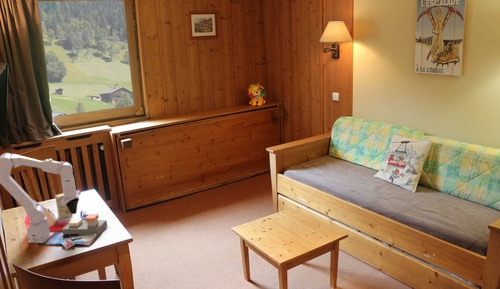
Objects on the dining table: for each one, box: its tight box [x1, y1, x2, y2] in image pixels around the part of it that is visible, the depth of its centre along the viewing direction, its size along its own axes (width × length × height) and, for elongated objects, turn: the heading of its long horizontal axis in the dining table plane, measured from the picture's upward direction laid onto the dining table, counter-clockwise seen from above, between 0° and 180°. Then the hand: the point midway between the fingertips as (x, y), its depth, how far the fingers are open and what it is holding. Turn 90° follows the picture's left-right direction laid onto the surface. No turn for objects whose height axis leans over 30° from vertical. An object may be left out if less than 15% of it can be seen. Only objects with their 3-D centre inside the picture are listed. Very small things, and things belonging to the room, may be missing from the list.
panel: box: [61, 219, 108, 236], centre depth 210 cm, size 10×18×3 cm, turn 82°
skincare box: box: [54, 193, 73, 219], centre depth 227 cm, size 6×4×12 cm
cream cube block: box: [68, 218, 83, 227], centre depth 211 cm, size 5×5×5 cm
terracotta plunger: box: [84, 213, 100, 227], centre depth 209 cm, size 5×5×5 cm
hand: (73, 213), depth 209 cm, fingers closed
